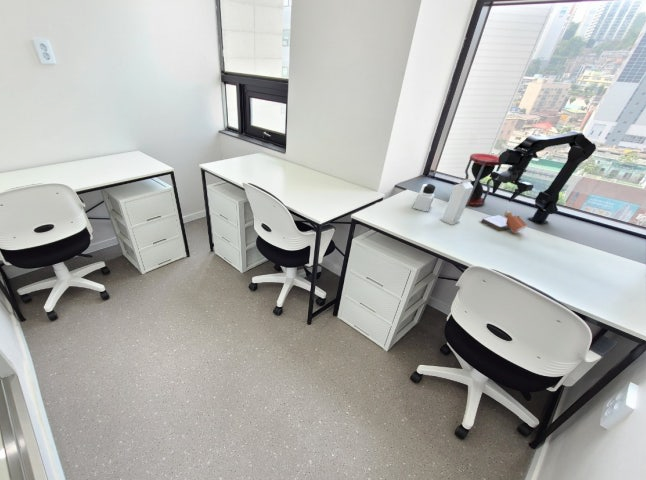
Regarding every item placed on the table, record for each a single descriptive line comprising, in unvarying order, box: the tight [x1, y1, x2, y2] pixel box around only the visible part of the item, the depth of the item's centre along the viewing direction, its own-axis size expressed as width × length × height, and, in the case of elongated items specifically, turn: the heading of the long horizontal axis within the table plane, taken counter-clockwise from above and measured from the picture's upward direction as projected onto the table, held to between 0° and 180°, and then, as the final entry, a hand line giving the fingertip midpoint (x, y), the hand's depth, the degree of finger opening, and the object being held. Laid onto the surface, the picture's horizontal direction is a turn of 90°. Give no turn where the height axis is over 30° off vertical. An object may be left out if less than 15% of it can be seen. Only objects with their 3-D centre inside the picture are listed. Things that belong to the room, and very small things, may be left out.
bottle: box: [503, 211, 528, 234], centre depth 152 cm, size 11×6×8 cm, turn 23°
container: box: [412, 183, 436, 212], centre depth 169 cm, size 8×8×13 cm
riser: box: [480, 214, 510, 232], centre depth 158 cm, size 12×10×2 cm
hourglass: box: [459, 153, 503, 207], centre depth 175 cm, size 16×16×25 cm
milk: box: [441, 178, 473, 225], centre depth 154 cm, size 6×6×22 cm
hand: (501, 197), depth 154 cm, fingers open, 9 cm apart
